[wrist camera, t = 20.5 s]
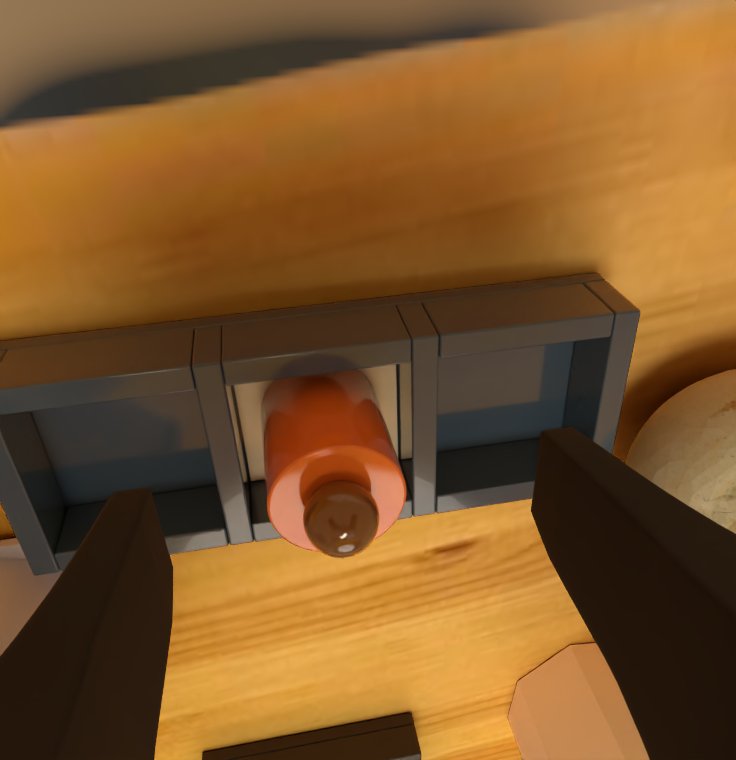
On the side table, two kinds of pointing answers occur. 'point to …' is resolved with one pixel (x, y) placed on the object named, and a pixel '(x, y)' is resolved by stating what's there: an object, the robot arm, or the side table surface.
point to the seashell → (694, 448)
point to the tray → (336, 743)
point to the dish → (296, 359)
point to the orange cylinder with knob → (329, 463)
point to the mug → (574, 711)
